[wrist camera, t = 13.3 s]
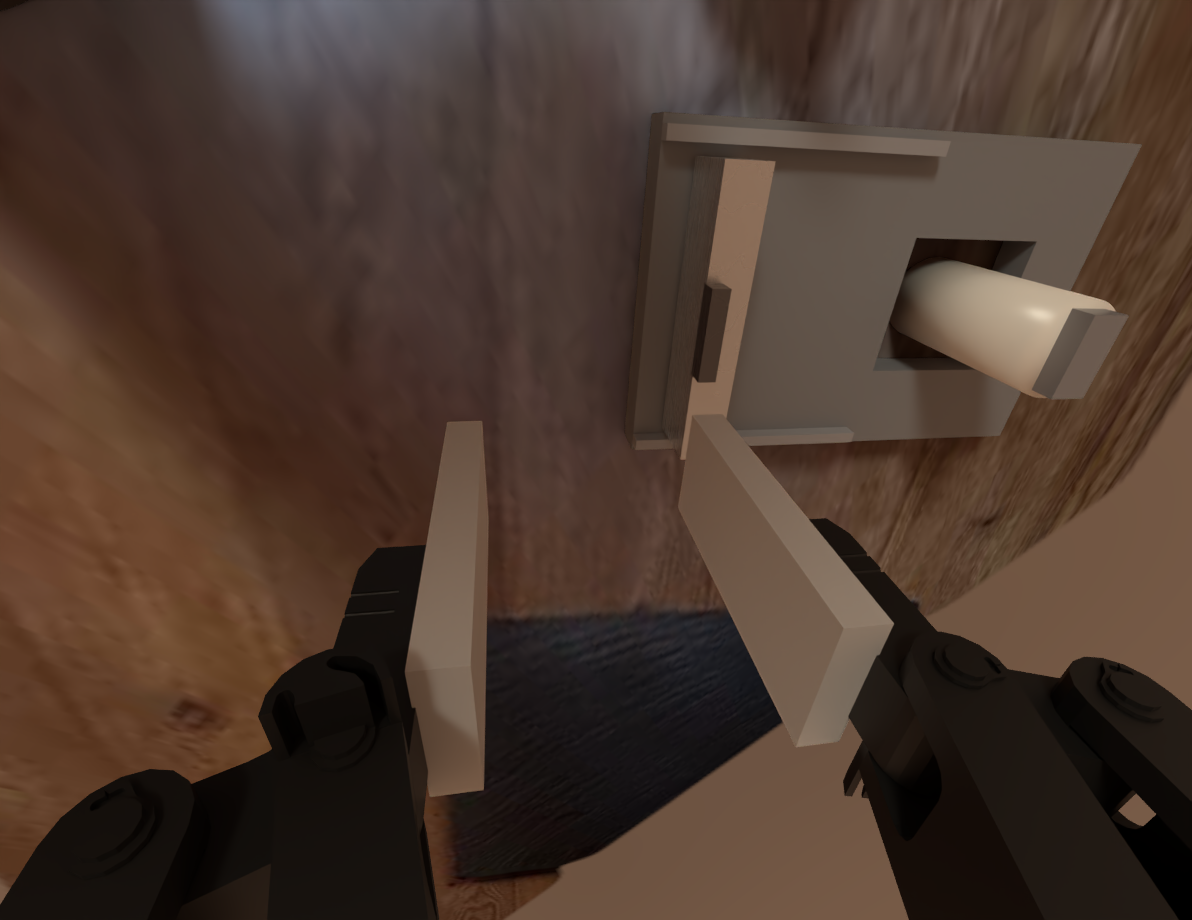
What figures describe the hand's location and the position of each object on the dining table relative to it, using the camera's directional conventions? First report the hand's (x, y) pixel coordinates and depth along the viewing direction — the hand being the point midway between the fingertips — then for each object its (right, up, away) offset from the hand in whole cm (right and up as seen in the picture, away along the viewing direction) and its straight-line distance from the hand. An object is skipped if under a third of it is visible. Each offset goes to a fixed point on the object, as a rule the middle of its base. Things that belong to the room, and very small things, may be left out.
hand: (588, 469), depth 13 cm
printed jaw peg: (+19, +10, +18) cm, 28 cm away
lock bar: (+5, +8, +13) cm, 16 cm away
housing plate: (+14, +9, +17) cm, 24 cm away
